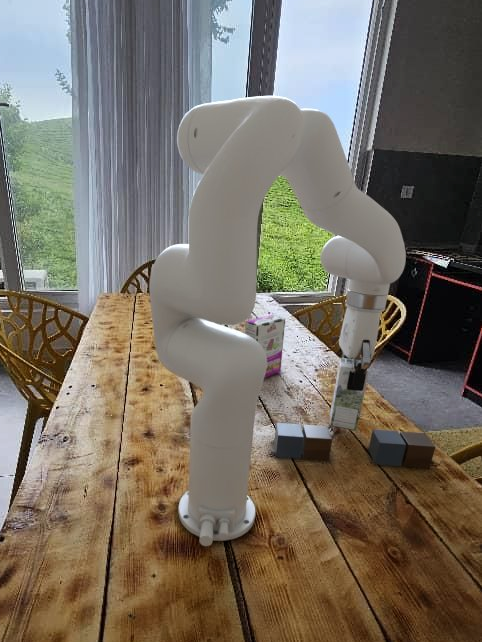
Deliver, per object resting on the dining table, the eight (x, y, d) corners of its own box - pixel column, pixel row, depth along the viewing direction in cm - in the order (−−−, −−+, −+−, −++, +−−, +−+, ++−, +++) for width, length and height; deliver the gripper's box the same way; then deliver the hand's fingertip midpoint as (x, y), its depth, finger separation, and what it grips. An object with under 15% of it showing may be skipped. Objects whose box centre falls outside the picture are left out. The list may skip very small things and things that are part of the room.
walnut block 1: (328, 460, 88) (332, 439, 86) (303, 459, 88) (306, 437, 86) (324, 446, 93) (327, 426, 91) (300, 445, 93) (303, 424, 91)
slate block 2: (401, 466, 87) (406, 444, 85) (375, 464, 87) (379, 442, 86) (392, 451, 92) (397, 431, 90) (368, 450, 92) (372, 429, 90)
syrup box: (355, 419, 100) (367, 359, 95) (356, 432, 95) (369, 369, 90) (329, 415, 101) (339, 356, 96) (329, 427, 96) (340, 365, 91)
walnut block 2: (429, 468, 87) (435, 446, 85) (403, 466, 87) (408, 444, 85) (420, 454, 91) (425, 433, 90) (395, 452, 92) (400, 431, 90)
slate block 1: (300, 458, 88) (303, 437, 86) (275, 456, 89) (278, 435, 87) (297, 444, 93) (300, 424, 91) (273, 443, 93) (276, 422, 91)
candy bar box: (267, 367, 131) (273, 313, 125) (280, 372, 128) (286, 318, 122) (240, 376, 125) (245, 320, 119) (253, 382, 121) (258, 325, 115)
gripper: (337, 290, 96) (325, 366, 103) (357, 310, 80) (341, 399, 87) (372, 292, 96) (358, 368, 102) (400, 313, 80) (380, 402, 86)
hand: (350, 382), depth 94 cm, fingers closed on syrup box, 6 cm apart
